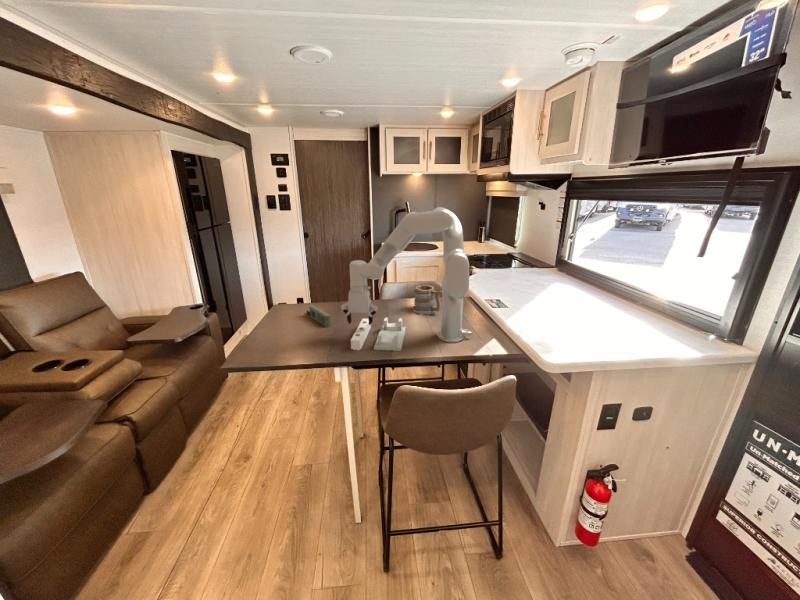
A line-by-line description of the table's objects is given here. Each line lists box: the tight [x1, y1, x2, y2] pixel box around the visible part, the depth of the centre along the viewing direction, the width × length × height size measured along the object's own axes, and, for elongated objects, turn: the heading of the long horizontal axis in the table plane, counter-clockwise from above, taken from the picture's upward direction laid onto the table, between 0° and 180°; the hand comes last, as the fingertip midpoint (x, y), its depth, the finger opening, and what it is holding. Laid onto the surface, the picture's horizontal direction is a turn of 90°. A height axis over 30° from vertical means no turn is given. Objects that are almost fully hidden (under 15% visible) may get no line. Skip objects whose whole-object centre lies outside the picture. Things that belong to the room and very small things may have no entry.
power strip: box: [350, 318, 372, 351], centre depth 147 cm, size 4×24×5 cm, turn 174°
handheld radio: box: [305, 304, 332, 329], centre depth 167 cm, size 7×3×25 cm
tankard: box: [412, 284, 442, 316], centre depth 175 cm, size 20×13×15 cm, turn 43°
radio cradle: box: [373, 317, 407, 352], centre depth 145 cm, size 12×22×6 cm, turn 174°
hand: (360, 323), depth 145 cm, fingers open, 9 cm apart
